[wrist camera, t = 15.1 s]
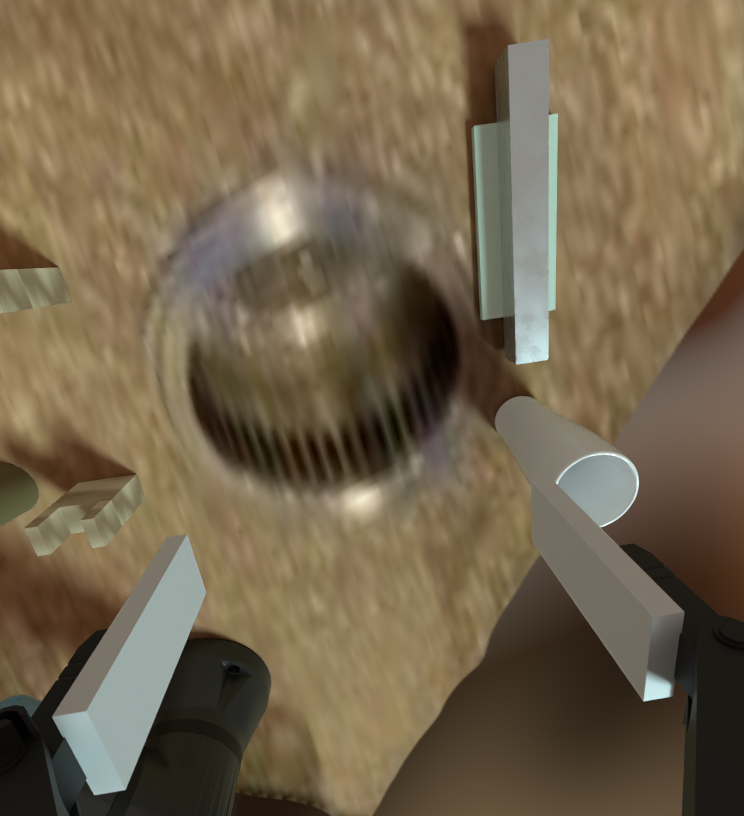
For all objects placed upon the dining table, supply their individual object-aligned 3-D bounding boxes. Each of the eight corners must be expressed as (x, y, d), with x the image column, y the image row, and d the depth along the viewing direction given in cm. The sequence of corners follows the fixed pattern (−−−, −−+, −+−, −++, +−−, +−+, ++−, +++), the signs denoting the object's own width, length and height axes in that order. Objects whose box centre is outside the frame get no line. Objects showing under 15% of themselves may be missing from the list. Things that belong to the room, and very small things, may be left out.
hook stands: (145, 498, 46) (105, 546, 38) (88, 506, 46) (37, 556, 38) (58, 267, 37) (-14, 270, 30) (-11, 277, 37) (-101, 282, 30)
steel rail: (534, 352, 42) (548, 359, 39) (504, 357, 42) (516, 364, 39) (532, 57, 33) (549, 38, 31) (494, 62, 33) (508, 45, 31)
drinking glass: (512, 458, 46) (583, 547, 32) (473, 418, 45) (530, 494, 30) (561, 417, 45) (658, 490, 31) (523, 374, 43) (607, 432, 29)
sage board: (551, 308, 41) (555, 309, 40) (480, 319, 41) (482, 320, 40) (553, 116, 36) (557, 113, 35) (471, 128, 35) (473, 125, 35)
